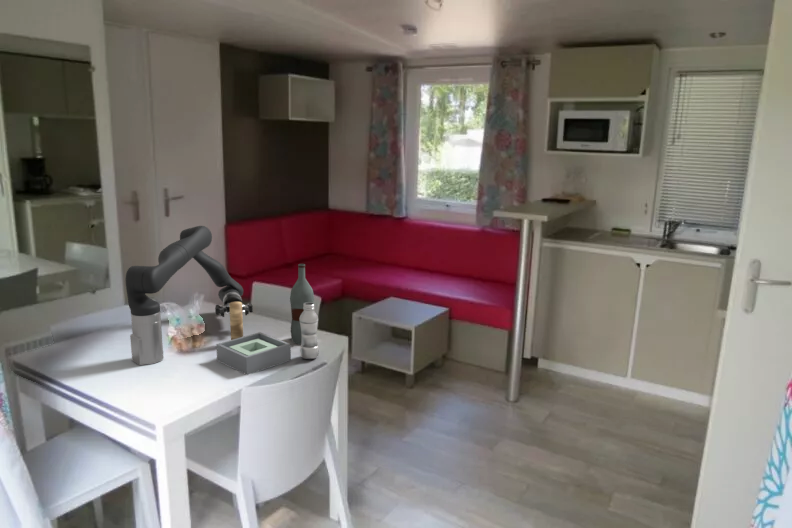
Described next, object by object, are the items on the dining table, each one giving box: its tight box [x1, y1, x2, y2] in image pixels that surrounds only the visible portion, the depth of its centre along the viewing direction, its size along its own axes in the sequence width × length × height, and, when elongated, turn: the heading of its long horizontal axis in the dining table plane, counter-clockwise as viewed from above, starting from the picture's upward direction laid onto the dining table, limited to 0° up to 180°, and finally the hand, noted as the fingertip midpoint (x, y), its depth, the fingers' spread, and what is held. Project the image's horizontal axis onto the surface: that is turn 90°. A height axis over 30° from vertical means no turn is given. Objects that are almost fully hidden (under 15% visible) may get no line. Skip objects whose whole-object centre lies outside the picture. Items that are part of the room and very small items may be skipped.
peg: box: [229, 301, 244, 340], centre depth 212 cm, size 4×4×16 cm
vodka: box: [289, 263, 315, 345], centre depth 216 cm, size 9×9×30 cm
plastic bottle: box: [299, 302, 320, 360], centre depth 199 cm, size 6×7×20 cm
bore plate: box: [229, 339, 278, 356], centre depth 198 cm, size 12×12×4 cm
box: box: [215, 331, 292, 376], centre depth 198 cm, size 18×18×6 cm
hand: (234, 313), depth 219 cm, fingers open, 8 cm apart
